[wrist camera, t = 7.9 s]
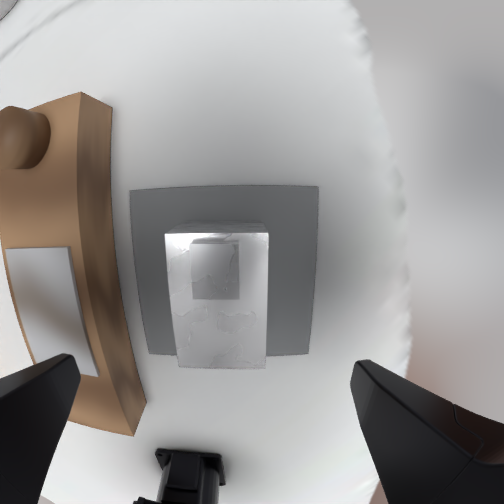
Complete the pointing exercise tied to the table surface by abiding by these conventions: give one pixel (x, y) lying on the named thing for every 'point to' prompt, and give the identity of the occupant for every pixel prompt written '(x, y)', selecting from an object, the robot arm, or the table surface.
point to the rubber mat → (231, 209)
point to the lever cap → (219, 293)
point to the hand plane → (68, 252)
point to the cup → (6, 7)
